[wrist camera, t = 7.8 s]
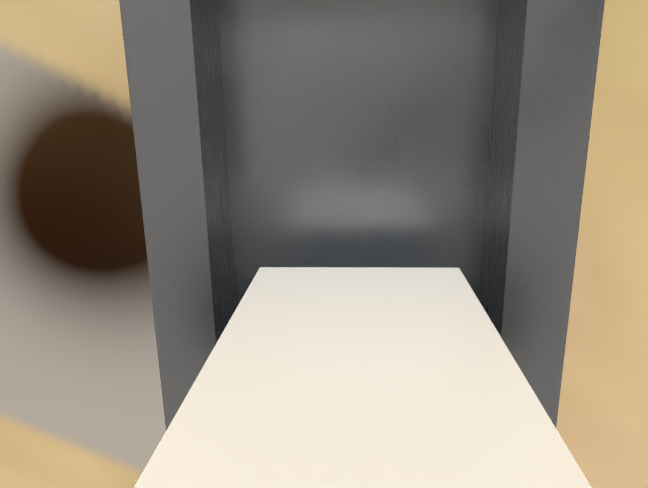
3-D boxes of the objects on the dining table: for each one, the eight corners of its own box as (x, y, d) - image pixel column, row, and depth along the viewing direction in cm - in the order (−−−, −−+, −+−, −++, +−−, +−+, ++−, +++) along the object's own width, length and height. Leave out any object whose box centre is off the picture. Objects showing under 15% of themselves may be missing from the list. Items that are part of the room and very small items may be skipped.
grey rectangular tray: (124, -129, 11) (46, -205, 9) (600, -151, 11) (689, -240, 8) (202, 647, 17) (171, 757, 14) (515, 662, 17) (548, 780, 14)
